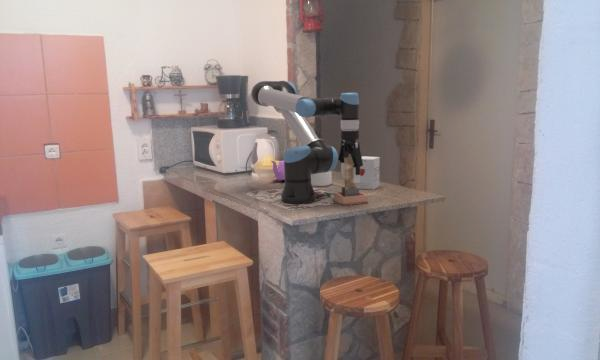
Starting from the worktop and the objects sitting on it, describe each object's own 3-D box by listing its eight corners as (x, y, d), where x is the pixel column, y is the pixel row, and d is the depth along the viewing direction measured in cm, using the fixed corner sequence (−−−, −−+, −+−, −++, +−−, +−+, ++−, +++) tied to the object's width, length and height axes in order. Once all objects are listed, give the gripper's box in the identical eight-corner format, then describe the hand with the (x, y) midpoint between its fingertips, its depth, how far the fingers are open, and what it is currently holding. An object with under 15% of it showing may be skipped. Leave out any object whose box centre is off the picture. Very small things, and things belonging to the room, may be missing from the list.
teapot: (280, 185, 249) (279, 161, 247) (263, 182, 260) (262, 159, 257) (308, 180, 262) (308, 157, 260) (291, 177, 273) (291, 155, 270)
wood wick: (347, 200, 205) (346, 158, 202) (344, 199, 208) (344, 157, 204) (355, 199, 207) (355, 157, 203) (353, 198, 209) (353, 157, 206)
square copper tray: (343, 205, 201) (343, 191, 199) (333, 200, 211) (333, 186, 210) (367, 203, 204) (367, 189, 203) (356, 198, 214) (356, 184, 213)
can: (322, 187, 240) (321, 147, 237) (302, 185, 247) (301, 146, 244) (336, 183, 250) (335, 145, 246) (316, 181, 257) (315, 144, 254)
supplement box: (356, 188, 235) (356, 158, 233) (362, 185, 243) (362, 155, 241) (373, 189, 231) (374, 158, 229) (379, 186, 239) (380, 156, 236)
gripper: (371, 131, 191) (371, 184, 195) (346, 127, 215) (346, 174, 218) (353, 132, 189) (354, 185, 193) (330, 128, 213) (331, 176, 216)
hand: (350, 180), depth 206 cm, fingers open, 13 cm apart
